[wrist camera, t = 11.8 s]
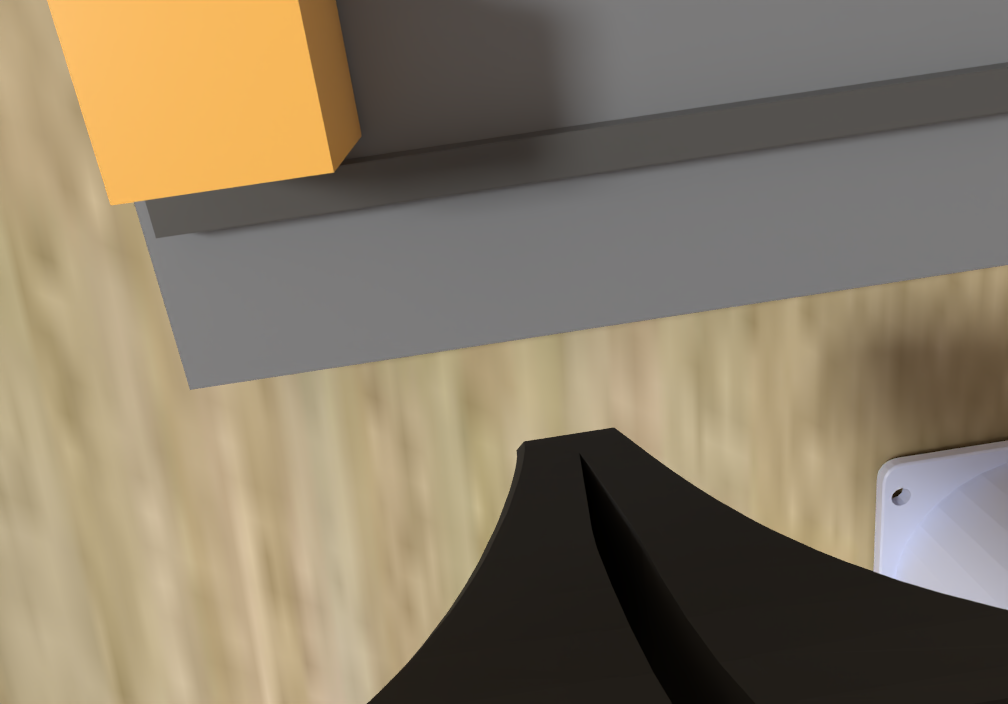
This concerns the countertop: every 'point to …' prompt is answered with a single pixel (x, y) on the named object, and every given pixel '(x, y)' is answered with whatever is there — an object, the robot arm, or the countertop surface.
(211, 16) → the knob
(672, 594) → the robot arm
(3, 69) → the countertop surface
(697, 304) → the switch panel
